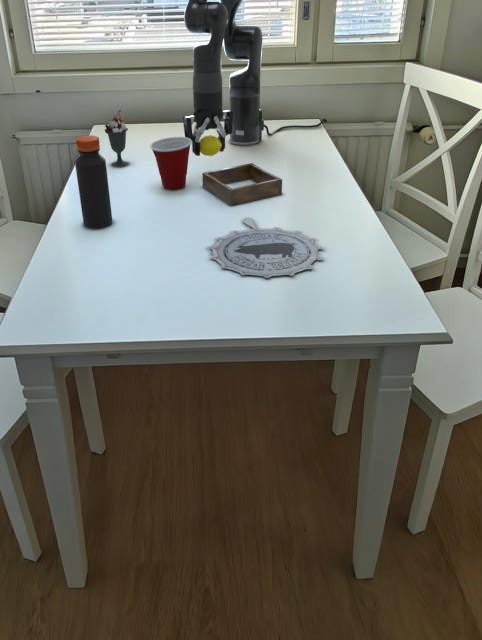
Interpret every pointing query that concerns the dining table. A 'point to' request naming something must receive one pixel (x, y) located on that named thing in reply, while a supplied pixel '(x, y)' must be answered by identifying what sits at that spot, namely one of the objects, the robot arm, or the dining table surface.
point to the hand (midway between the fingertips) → (209, 152)
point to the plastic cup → (172, 160)
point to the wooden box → (233, 196)
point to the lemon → (210, 145)
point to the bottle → (93, 183)
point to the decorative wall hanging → (265, 252)
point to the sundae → (117, 139)
